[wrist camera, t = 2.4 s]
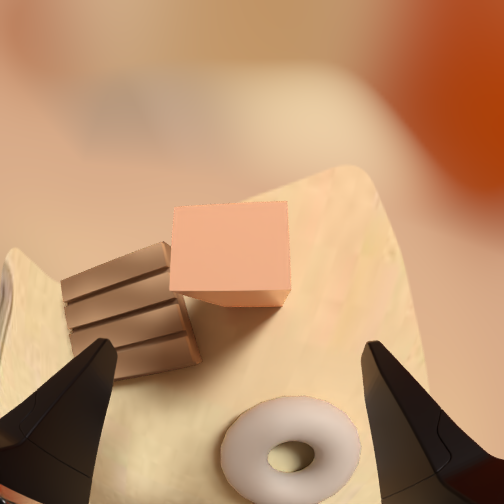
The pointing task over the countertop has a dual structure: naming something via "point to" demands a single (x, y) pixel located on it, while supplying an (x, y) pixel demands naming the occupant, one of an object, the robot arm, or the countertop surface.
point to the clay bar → (232, 253)
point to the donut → (283, 430)
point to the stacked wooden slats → (132, 313)
